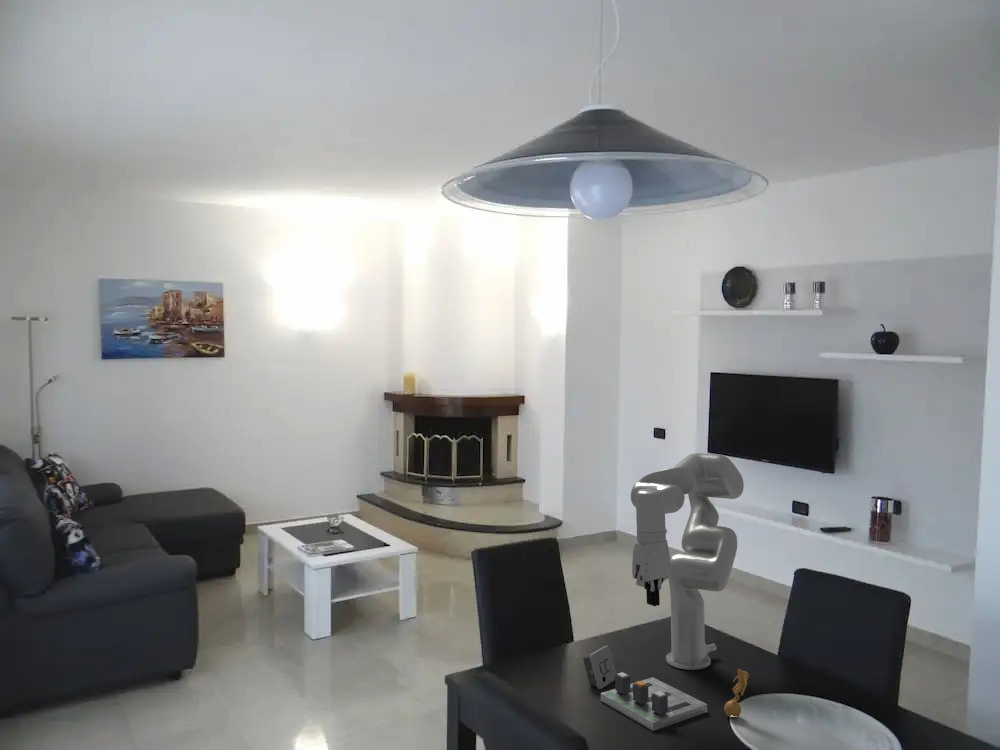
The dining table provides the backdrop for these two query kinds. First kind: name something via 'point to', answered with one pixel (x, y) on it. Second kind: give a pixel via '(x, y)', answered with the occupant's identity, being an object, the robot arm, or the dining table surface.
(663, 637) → the dining table surface
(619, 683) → the breaker
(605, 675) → the electrical switch
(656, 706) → the block
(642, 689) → the breaker mid
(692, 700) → the panel
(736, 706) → the figurine
